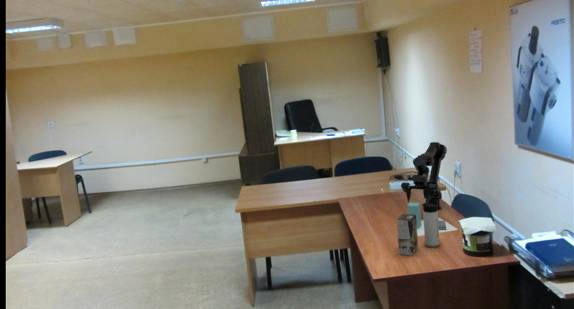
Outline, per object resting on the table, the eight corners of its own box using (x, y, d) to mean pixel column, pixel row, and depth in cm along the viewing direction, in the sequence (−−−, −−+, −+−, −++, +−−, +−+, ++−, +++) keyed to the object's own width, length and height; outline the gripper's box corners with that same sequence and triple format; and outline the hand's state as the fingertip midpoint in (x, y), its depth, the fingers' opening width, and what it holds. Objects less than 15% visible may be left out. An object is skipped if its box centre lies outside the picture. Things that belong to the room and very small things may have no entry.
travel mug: (422, 243, 215) (420, 202, 211) (436, 241, 215) (434, 200, 212) (427, 248, 209) (425, 206, 205) (441, 246, 209) (439, 204, 206)
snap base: (428, 224, 236) (428, 220, 235) (445, 224, 234) (444, 220, 233) (429, 230, 228) (428, 226, 228) (446, 230, 226) (446, 226, 226)
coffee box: (412, 255, 203) (410, 220, 200) (398, 254, 207) (396, 219, 204) (418, 248, 211) (416, 214, 208) (404, 246, 214) (402, 213, 211)
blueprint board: (439, 218, 245) (439, 217, 245) (458, 231, 225) (458, 229, 225) (397, 225, 242) (397, 223, 242) (413, 238, 222) (413, 236, 222)
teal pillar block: (411, 224, 238) (410, 202, 236) (421, 225, 235) (420, 203, 233) (408, 228, 234) (407, 205, 232) (418, 229, 231) (417, 206, 229)
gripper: (400, 167, 244) (395, 193, 236) (436, 168, 233) (431, 195, 226) (406, 178, 251) (401, 203, 244) (441, 179, 241) (436, 206, 234)
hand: (417, 202), depth 237 cm, fingers open, 9 cm apart
